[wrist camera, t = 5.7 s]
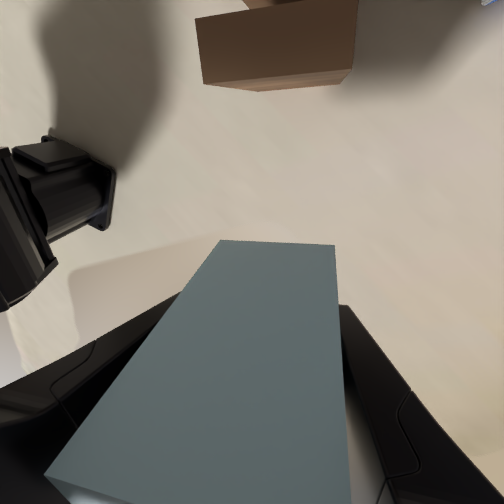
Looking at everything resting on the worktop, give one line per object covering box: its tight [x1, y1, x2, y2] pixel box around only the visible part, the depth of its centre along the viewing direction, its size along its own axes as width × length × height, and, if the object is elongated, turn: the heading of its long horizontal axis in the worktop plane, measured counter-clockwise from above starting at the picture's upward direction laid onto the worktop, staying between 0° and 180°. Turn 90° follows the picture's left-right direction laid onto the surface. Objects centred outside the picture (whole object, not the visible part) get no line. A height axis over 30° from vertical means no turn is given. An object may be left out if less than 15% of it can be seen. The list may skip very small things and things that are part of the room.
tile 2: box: [195, 0, 358, 92], centre depth 12 cm, size 2×5×9 cm, turn 94°
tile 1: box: [44, 240, 351, 504], centre depth 8 cm, size 2×5×9 cm, turn 94°
